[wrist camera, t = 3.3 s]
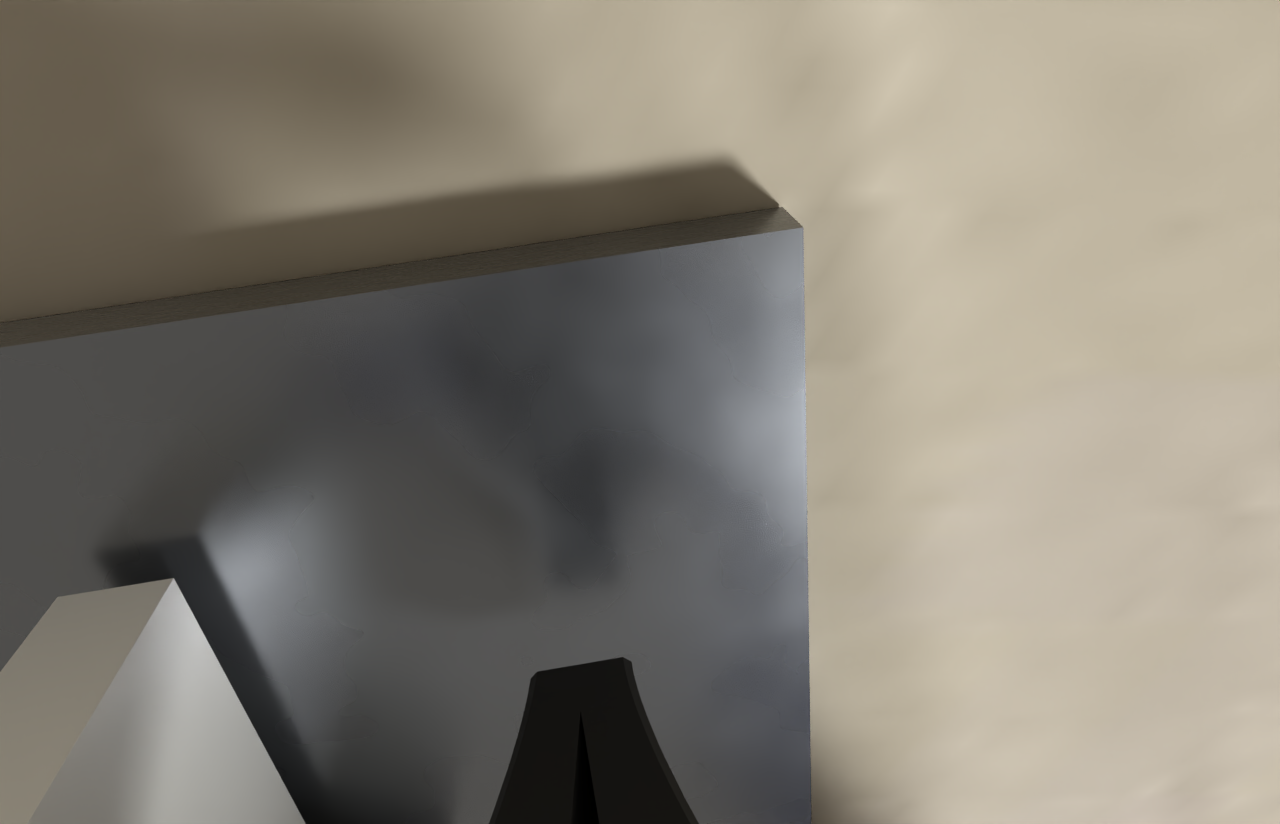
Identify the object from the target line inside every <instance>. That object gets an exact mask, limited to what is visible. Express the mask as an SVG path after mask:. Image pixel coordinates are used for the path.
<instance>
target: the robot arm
mask: <svg viewBox="0 0 1280 824" xmlns="http://www.w3.org/2000/svg"><path fill="white" fill-rule="evenodd" d="M489 824H699V823H698V821H697V819H696V817H695V816H694V814H693V812H692V810H691V808H690V806H689V804H688V803H687V801H686V799H685V797H684V795H683V793H682V791H681V789H680V787H679V785H678V783H677V781H676V779H675V777H674V775H673V773H672V771H671V769H670V767H669V765H668V763H667V761H666V759H665V757H664V754H663V752H662V750H661V748H660V746H659V743H658V741H657V739H656V737H655V734H654V732H653V729H652V727H651V724H650V722H649V719H648V717H647V714H646V712H645V709H644V706H643V703H642V701H641V697H640V694H639V691H638V688H637V684H636V680H635V677H634V672H633V666H632V662H631V661H629V660H628V659H626V658H624V657H620V658H614V659H608V660H602V661H596V662H590V663H585V664H579V665H573V666H567V667H561V668H555V669H549V670H543V671H538V672H536V673H535V674H534V676H533V677H532V678H531V679H530V685H529V690H528V696H527V700H526V705H525V709H524V713H523V717H522V721H521V725H520V729H519V733H518V736H517V740H516V743H515V746H514V750H513V753H512V757H511V760H510V763H509V766H508V770H507V772H506V775H505V778H504V781H503V784H502V787H501V790H500V793H499V796H498V799H497V802H496V805H495V808H494V811H493V814H492V816H491V819H490V822H489Z"/></svg>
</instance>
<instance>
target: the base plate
mask: <svg viewBox="0 0 1280 824" xmlns="http://www.w3.org/2000/svg"><path fill="white" fill-rule="evenodd" d="M171 578H174V579H175V581H176V583H177V585H178V587H179V589H180V591H181V593H182V594H183V596H184V598H185V600H186V602H187V604H188V606H189V607H190V609H191V611H192V613H193V615H194V617H195V619H196V620H197V622H198V624H199V626H200V628H201V630H202V632H203V634H204V635H205V637H206V639H207V641H208V643H209V645H210V647H211V648H212V650H213V652H214V654H215V656H216V658H217V660H218V661H219V663H220V665H221V667H222V669H223V671H224V673H225V675H226V676H227V678H228V680H229V682H230V684H231V686H232V688H233V689H234V691H235V693H236V695H237V697H238V699H239V701H240V702H241V704H242V706H243V708H244V710H245V712H246V714H247V716H248V717H249V719H250V721H251V723H252V725H253V727H254V729H255V730H256V732H257V734H258V736H259V738H260V740H261V742H262V743H263V745H264V747H265V749H266V751H267V753H268V755H269V757H270V758H271V760H272V762H273V764H274V766H275V768H276V770H277V771H278V773H279V775H280V777H281V779H282V781H283V783H284V784H285V786H286V788H287V790H288V792H289V794H290V796H291V798H292V799H293V801H294V803H295V805H296V807H297V809H298V811H299V812H300V814H301V816H302V818H303V820H304V822H305V824H489V822H490V819H491V816H492V814H493V811H494V808H495V805H496V802H497V799H498V796H499V793H500V790H501V787H502V784H503V781H504V778H505V775H506V772H507V770H508V766H509V763H510V760H511V757H512V753H513V750H514V746H515V743H516V740H517V736H518V733H519V729H520V725H521V721H522V717H523V713H524V709H525V705H526V700H527V696H528V690H529V685H530V679H531V678H532V677H533V676H534V674H535V673H536V672H538V671H543V670H549V669H555V668H561V667H567V666H573V665H579V664H585V663H590V662H596V661H602V660H608V659H614V658H620V657H624V658H626V659H628V660H629V661H631V662H632V666H633V672H634V677H635V680H636V684H637V688H638V691H639V694H640V697H641V701H642V703H643V706H644V709H645V712H646V714H647V717H648V719H649V722H650V724H651V727H652V729H653V732H654V734H655V737H656V739H657V741H658V743H659V746H660V748H661V750H662V752H663V754H664V757H665V759H666V761H667V763H668V765H669V767H670V769H671V771H672V773H673V775H674V777H675V779H676V781H677V783H678V785H679V787H680V789H681V791H682V793H683V795H684V797H685V799H686V801H687V803H688V804H689V806H690V808H691V810H692V812H693V814H694V816H695V817H696V819H697V821H698V823H699V824H811V761H810V687H809V613H808V539H807V465H806V391H805V317H804V244H803V227H802V226H801V225H800V224H799V223H798V222H797V221H796V220H795V219H794V218H793V217H792V216H791V215H790V214H789V213H788V212H787V211H786V210H785V209H784V208H783V207H780V208H773V209H766V210H760V211H753V212H746V213H740V214H733V215H726V216H719V217H713V218H706V219H699V220H692V221H686V222H679V223H672V224H665V225H659V226H652V227H645V228H639V229H632V230H625V231H618V232H612V233H605V234H598V235H591V236H585V237H578V238H571V239H564V240H558V241H551V242H544V243H537V244H531V245H524V246H517V247H511V248H504V249H497V250H490V251H484V252H477V253H470V254H463V255H457V256H450V257H443V258H436V259H430V260H423V261H416V262H410V263H403V264H396V265H389V266H383V267H376V268H369V269H362V270H356V271H349V272H342V273H335V274H329V275H322V276H315V277H308V278H302V279H295V280H288V281H282V282H275V283H268V284H261V285H255V286H248V287H241V288H234V289H228V290H221V291H214V292H207V293H201V294H194V295H187V296H181V297H174V298H167V299H160V300H154V301H147V302H140V303H133V304H127V305H120V306H113V307H106V308H100V309H93V310H86V311H80V312H73V313H66V314H59V315H53V316H46V317H39V318H32V319H26V320H19V321H12V322H5V323H0V672H1V670H2V669H3V668H4V666H5V665H6V664H7V662H8V661H9V660H10V658H11V657H12V656H13V655H14V653H15V652H16V651H17V649H18V648H19V647H20V645H21V644H22V643H23V641H24V640H25V639H26V637H27V636H28V635H29V634H30V632H31V631H32V630H33V628H34V627H35V626H36V624H37V623H38V622H39V620H40V619H41V618H42V617H43V615H44V614H45V613H46V611H47V610H48V609H49V607H50V606H51V605H52V603H53V602H54V601H55V599H56V598H57V597H61V596H67V595H73V594H79V593H85V592H92V591H98V590H104V589H110V588H116V587H122V586H128V585H134V584H141V583H147V582H153V581H159V580H165V579H171Z"/></svg>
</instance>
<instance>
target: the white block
mask: <svg viewBox="0 0 1280 824" xmlns="http://www.w3.org/2000/svg"><path fill="white" fill-rule="evenodd" d="M0 824H305V822H304V820H303V818H302V816H301V814H300V812H299V811H298V809H297V807H296V805H295V803H294V801H293V799H292V798H291V796H290V794H289V792H288V790H287V788H286V786H285V784H284V783H283V781H282V779H281V777H280V775H279V773H278V771H277V770H276V768H275V766H274V764H273V762H272V760H271V758H270V757H269V755H268V753H267V751H266V749H265V747H264V745H263V743H262V742H261V740H260V738H259V736H258V734H257V732H256V730H255V729H254V727H253V725H252V723H251V721H250V719H249V717H248V716H247V714H246V712H245V710H244V708H243V706H242V704H241V702H240V701H239V699H238V697H237V695H236V693H235V691H234V689H233V688H232V686H231V684H230V682H229V680H228V678H227V676H226V675H225V673H224V671H223V669H222V667H221V665H220V663H219V661H218V660H217V658H216V656H215V654H214V652H213V650H212V648H211V647H210V645H209V643H208V641H207V639H206V637H205V635H204V634H203V632H202V630H201V628H200V626H199V624H198V622H197V620H196V619H195V617H194V615H193V613H192V611H191V609H190V607H189V606H188V604H187V602H186V600H185V598H184V596H183V594H182V593H181V591H180V589H179V587H178V585H177V583H176V581H175V579H174V578H171V579H165V580H159V581H153V582H147V583H141V584H134V585H128V586H122V587H116V588H110V589H104V590H98V591H92V592H85V593H79V594H73V595H67V596H61V597H57V598H56V599H55V601H54V602H53V603H52V605H51V606H50V607H49V609H48V610H47V611H46V613H45V614H44V615H43V617H42V618H41V619H40V620H39V622H38V623H37V624H36V626H35V627H34V628H33V630H32V631H31V632H30V634H29V635H28V636H27V637H26V639H25V640H24V641H23V643H22V644H21V645H20V647H19V648H18V649H17V651H16V652H15V653H14V655H13V656H12V657H11V658H10V660H9V661H8V662H7V664H6V665H5V666H4V668H3V669H2V670H1V672H0Z"/></svg>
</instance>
